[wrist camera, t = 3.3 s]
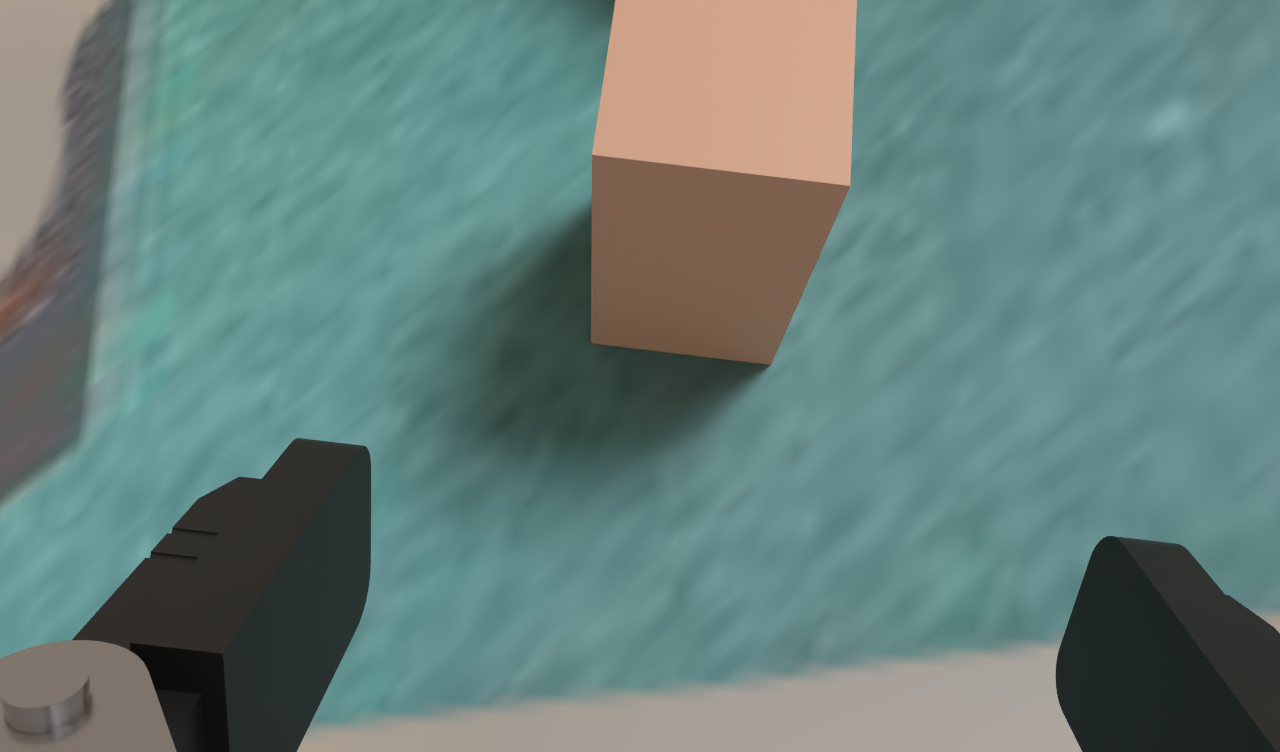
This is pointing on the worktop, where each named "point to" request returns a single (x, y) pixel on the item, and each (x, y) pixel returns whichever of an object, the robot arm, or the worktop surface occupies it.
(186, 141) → the worktop surface
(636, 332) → the salmon pink rectangular block
